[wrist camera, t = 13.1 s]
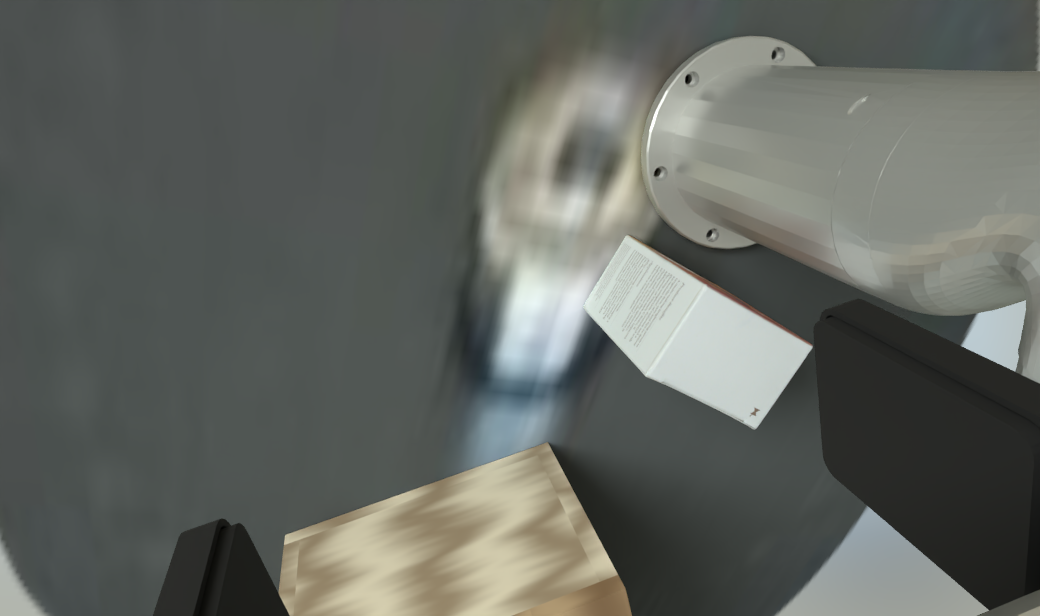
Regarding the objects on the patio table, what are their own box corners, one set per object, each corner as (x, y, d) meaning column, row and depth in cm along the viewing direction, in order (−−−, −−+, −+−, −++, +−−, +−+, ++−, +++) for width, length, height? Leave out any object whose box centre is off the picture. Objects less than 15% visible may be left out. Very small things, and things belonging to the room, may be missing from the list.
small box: (718, 285, 46) (819, 346, 36) (673, 355, 47) (758, 433, 37) (625, 230, 43) (707, 281, 33) (578, 306, 44) (645, 377, 34)
